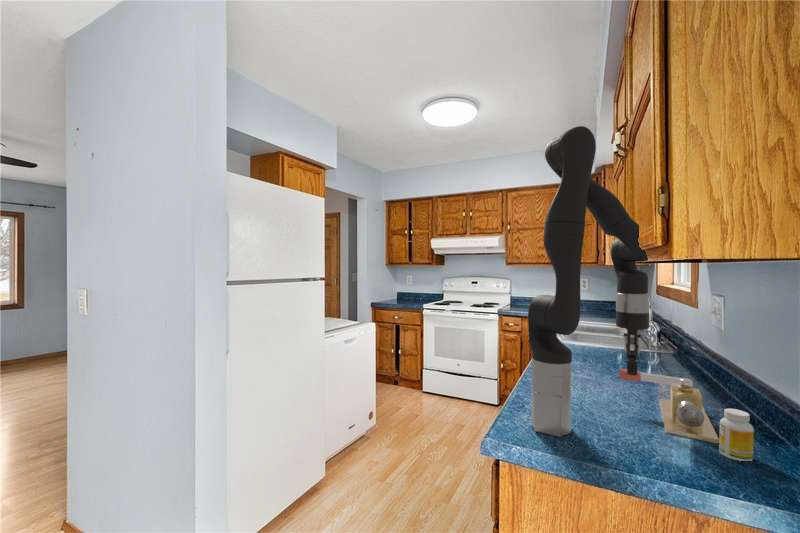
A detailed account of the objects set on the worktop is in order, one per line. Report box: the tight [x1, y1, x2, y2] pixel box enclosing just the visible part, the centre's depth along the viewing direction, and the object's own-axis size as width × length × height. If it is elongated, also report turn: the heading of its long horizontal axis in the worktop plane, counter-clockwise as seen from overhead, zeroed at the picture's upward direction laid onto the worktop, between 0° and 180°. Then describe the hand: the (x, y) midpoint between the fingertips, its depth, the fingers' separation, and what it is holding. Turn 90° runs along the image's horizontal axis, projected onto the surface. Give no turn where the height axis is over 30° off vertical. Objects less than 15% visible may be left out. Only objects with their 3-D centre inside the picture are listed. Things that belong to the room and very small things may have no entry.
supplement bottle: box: [718, 408, 755, 462], centre depth 78 cm, size 5×5×10 cm
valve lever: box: [619, 368, 694, 388], centre depth 99 cm, size 16×3×2 cm, turn 57°
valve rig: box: [659, 385, 719, 444], centre depth 96 cm, size 24×10×9 cm, turn 147°
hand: (632, 374), depth 96 cm, fingers closed
